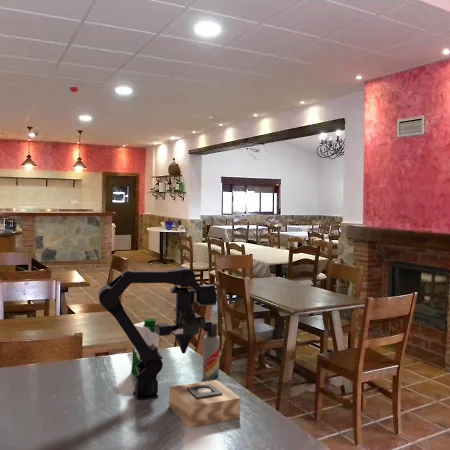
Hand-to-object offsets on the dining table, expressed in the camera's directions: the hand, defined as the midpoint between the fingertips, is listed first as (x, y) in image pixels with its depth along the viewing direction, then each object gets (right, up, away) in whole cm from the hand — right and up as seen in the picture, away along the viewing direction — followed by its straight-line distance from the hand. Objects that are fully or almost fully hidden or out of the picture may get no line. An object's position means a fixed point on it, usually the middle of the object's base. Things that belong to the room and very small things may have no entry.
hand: (183, 353), depth 160 cm
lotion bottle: (+8, -13, +14) cm, 21 cm away
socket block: (+7, -14, -15) cm, 21 cm away
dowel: (+7, -13, -15) cm, 21 cm away
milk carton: (-16, -12, +17) cm, 26 cm away
